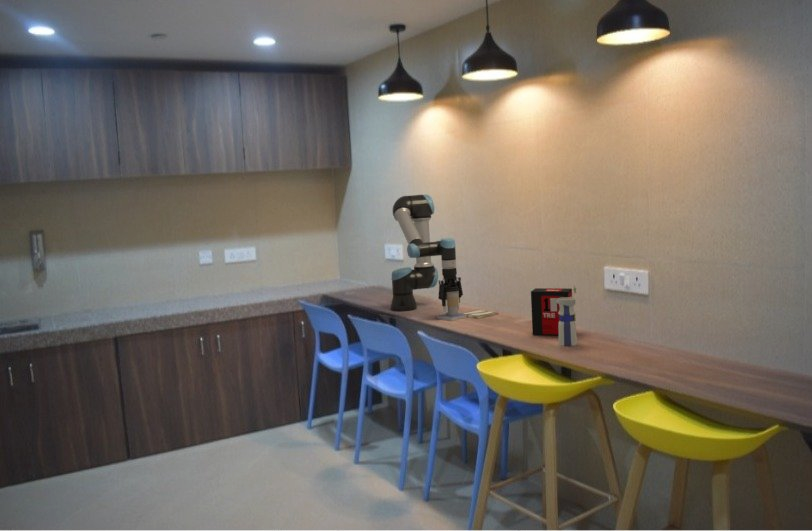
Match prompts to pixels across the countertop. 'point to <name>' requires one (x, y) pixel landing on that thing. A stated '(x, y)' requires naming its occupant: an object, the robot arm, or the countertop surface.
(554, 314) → the cleaning product box
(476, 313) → the board
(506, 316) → the countertop surface
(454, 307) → the coffee cup
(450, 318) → the ink pad
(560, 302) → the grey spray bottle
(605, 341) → the countertop surface
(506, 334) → the countertop surface
